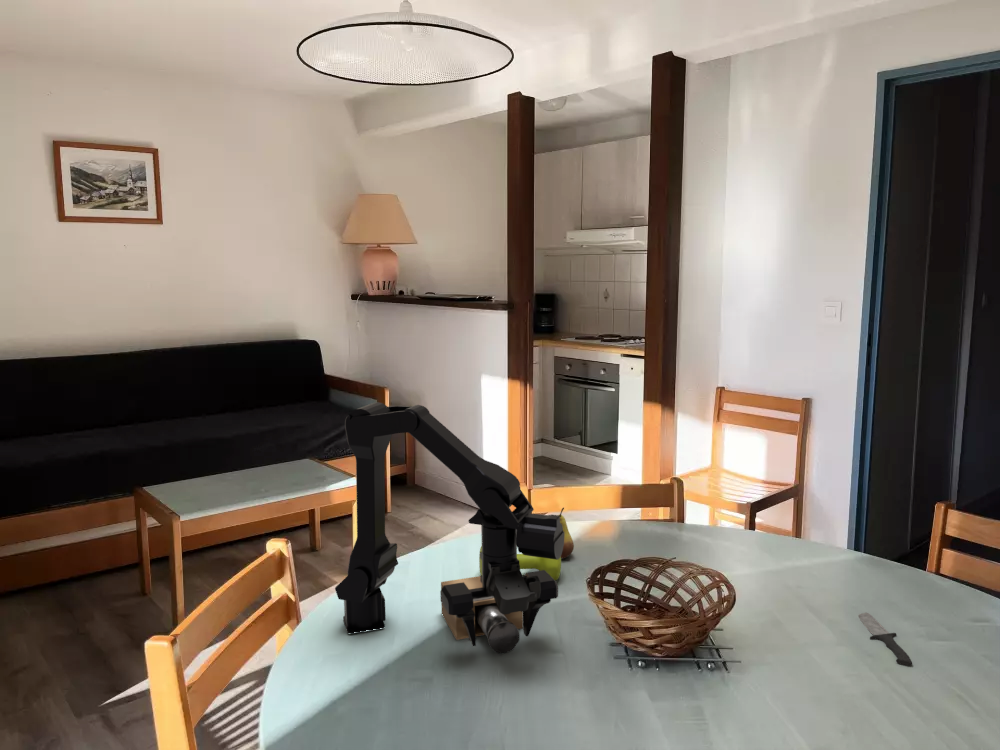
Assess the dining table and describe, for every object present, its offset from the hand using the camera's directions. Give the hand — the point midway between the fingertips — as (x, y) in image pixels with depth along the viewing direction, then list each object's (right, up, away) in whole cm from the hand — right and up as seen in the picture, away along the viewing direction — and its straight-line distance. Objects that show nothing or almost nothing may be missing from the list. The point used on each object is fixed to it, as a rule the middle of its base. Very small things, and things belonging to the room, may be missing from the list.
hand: (500, 640), depth 126 cm
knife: (+65, -1, +5) cm, 65 cm away
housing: (-3, 0, +10) cm, 11 cm away
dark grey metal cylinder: (-2, -1, +5) cm, 6 cm away
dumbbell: (+4, +2, +28) cm, 29 cm away
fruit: (+13, +4, +39) cm, 41 cm away
